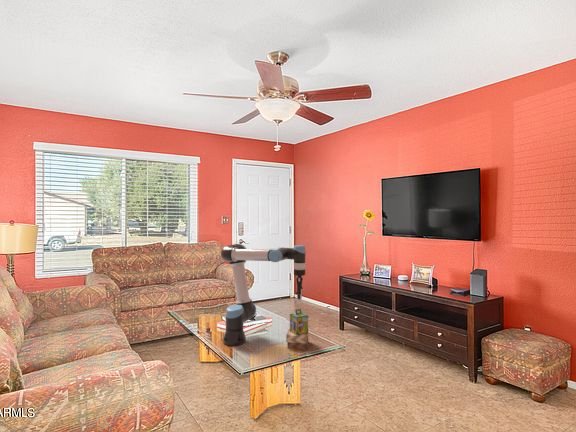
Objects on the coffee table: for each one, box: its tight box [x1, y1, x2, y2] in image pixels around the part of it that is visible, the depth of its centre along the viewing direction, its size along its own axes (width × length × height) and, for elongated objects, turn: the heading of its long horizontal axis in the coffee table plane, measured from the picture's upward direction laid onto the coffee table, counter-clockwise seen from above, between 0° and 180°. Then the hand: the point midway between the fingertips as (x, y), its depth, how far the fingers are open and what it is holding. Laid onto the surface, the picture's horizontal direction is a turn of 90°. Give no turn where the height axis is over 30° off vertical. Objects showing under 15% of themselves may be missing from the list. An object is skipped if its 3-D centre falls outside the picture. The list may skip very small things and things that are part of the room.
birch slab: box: [285, 328, 309, 343], centre depth 231 cm, size 13×13×4 cm
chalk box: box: [289, 308, 309, 335], centre depth 231 cm, size 9×9×15 cm
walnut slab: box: [286, 339, 309, 350], centre depth 231 cm, size 13×13×4 cm
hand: (299, 301), depth 232 cm, fingers open, 13 cm apart
